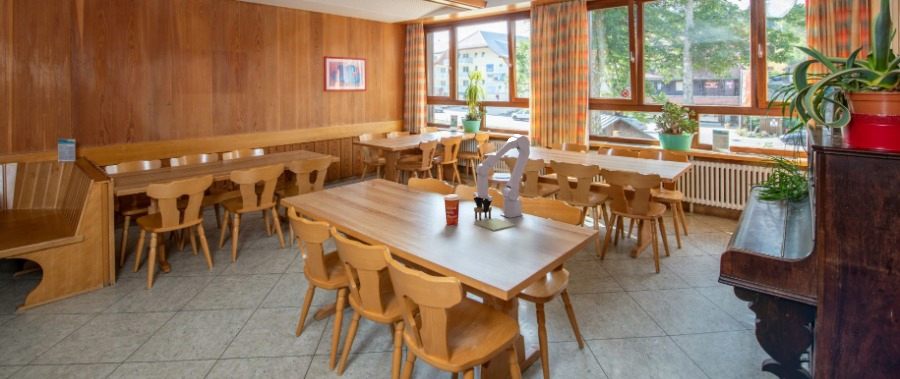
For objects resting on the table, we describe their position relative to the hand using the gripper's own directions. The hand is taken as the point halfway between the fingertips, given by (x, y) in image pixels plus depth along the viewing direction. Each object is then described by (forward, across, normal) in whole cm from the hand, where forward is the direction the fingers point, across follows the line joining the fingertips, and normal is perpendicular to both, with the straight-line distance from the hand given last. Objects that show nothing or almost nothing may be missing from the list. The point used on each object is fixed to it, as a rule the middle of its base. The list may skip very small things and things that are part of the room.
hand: (482, 211), depth 257 cm
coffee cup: (+4, -1, -19) cm, 19 cm away
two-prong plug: (+4, 0, 0) cm, 4 cm away
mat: (+4, +14, -3) cm, 15 cm away
